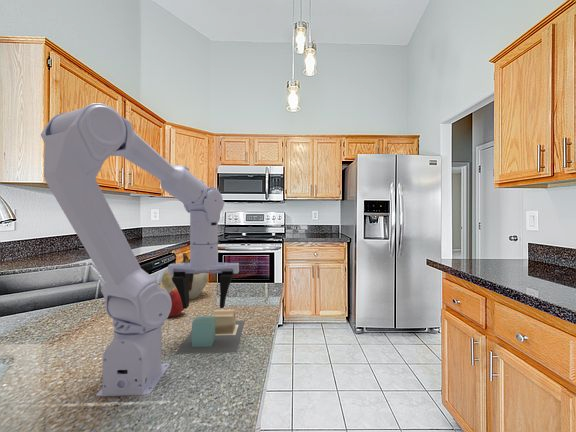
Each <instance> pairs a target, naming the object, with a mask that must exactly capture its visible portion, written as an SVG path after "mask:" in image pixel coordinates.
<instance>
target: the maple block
mask: <svg viewBox="0 0 576 432" xmlns="http://www.w3.org/2000/svg"><path fill="white" fill-rule="evenodd" d="M210 316H215V334H233V332H234V329H235V321H236V309H214V311H213V313H212V314H211V315H210Z"/></svg>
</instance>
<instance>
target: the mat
mask: <svg viewBox="0 0 576 432" xmlns="http://www.w3.org/2000/svg"><path fill="white" fill-rule="evenodd" d="M245 322H246V321H245V320H235V329H234V332H233V334H215V340H214V342H213V344H212V346H208V347H192V329H191V330H190V332H189V333H188V335H187V336H186V338H185V339H184V340H183V342H182V343H181V344H180V346H179V348H178V349H177V350H176V352H175V354H174V355H180V354H181V355H182V354H183V355H184V354H185V355H188V354H190V355H191V354H222V353H223V354H224V353H225V354H227V353H230V354H231V353H237V352H238V349H239V345H240V341H241V337H242V334H243V333H242V332H243V330H244V325H245Z"/></svg>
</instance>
